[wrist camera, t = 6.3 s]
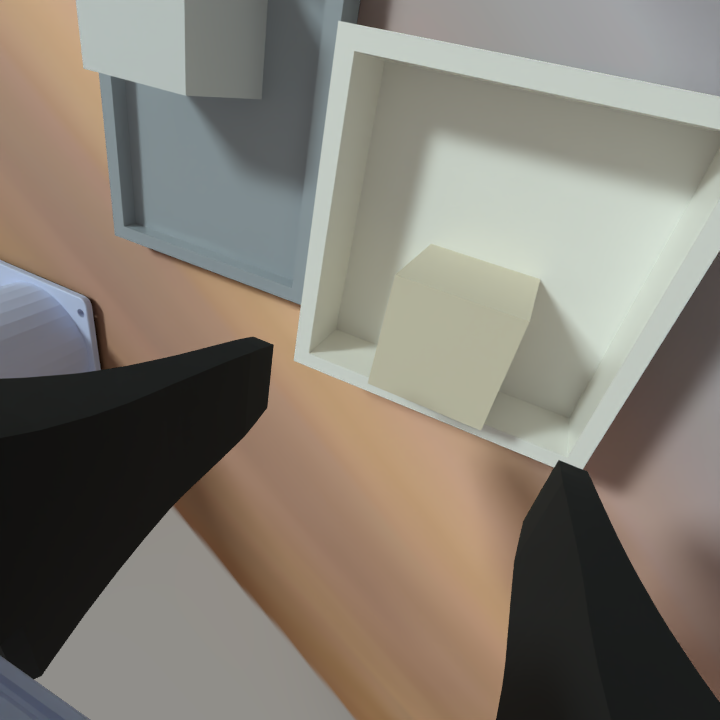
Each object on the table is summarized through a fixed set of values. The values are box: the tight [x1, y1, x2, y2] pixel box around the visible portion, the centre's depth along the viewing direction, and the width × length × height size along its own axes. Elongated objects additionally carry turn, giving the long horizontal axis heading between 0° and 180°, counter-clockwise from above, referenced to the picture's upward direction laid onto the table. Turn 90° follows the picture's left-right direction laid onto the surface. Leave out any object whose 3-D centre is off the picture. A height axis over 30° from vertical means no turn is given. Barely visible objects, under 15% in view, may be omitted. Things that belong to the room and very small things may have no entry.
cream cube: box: [368, 244, 540, 430], centre depth 16 cm, size 4×4×4 cm
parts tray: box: [99, 0, 360, 305], centre depth 16 cm, size 18×10×1 cm, turn 167°
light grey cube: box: [76, 0, 268, 99], centre depth 15 cm, size 4×4×4 cm
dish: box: [294, 21, 720, 470], centre depth 15 cm, size 11×11×3 cm
